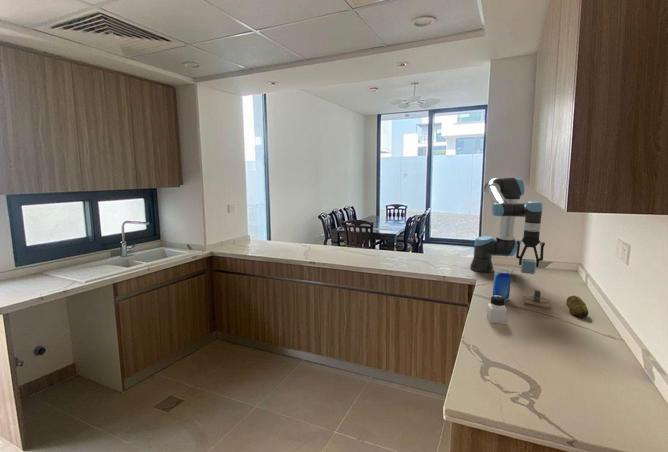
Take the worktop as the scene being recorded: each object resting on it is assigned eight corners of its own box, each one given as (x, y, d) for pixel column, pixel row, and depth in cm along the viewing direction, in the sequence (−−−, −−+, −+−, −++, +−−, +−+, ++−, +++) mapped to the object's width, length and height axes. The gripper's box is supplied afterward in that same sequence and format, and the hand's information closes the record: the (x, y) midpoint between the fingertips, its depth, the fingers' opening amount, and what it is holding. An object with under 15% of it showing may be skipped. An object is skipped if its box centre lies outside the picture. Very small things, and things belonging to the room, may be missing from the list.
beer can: (505, 295, 203) (508, 268, 200) (511, 301, 195) (513, 273, 192) (490, 295, 204) (492, 268, 201) (495, 301, 196) (497, 273, 193)
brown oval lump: (568, 317, 176) (570, 301, 175) (564, 307, 187) (566, 293, 186) (588, 320, 173) (590, 304, 171) (583, 310, 184) (585, 295, 183)
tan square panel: (523, 297, 201) (524, 286, 200) (548, 300, 196) (549, 289, 195) (524, 304, 191) (525, 293, 190) (550, 308, 186) (551, 296, 185)
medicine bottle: (505, 324, 168) (508, 300, 166) (489, 322, 170) (491, 299, 168) (502, 317, 175) (504, 294, 173) (486, 316, 177) (488, 293, 174)
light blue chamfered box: (521, 270, 200) (523, 258, 199) (533, 271, 198) (534, 260, 197) (522, 272, 195) (523, 261, 194) (533, 274, 193) (534, 262, 192)
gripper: (512, 230, 194) (509, 271, 197) (552, 232, 185) (547, 275, 189) (512, 227, 200) (509, 267, 204) (551, 230, 192) (546, 272, 196)
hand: (527, 271), depth 197 cm, fingers closed on light blue chamfered box, 6 cm apart
